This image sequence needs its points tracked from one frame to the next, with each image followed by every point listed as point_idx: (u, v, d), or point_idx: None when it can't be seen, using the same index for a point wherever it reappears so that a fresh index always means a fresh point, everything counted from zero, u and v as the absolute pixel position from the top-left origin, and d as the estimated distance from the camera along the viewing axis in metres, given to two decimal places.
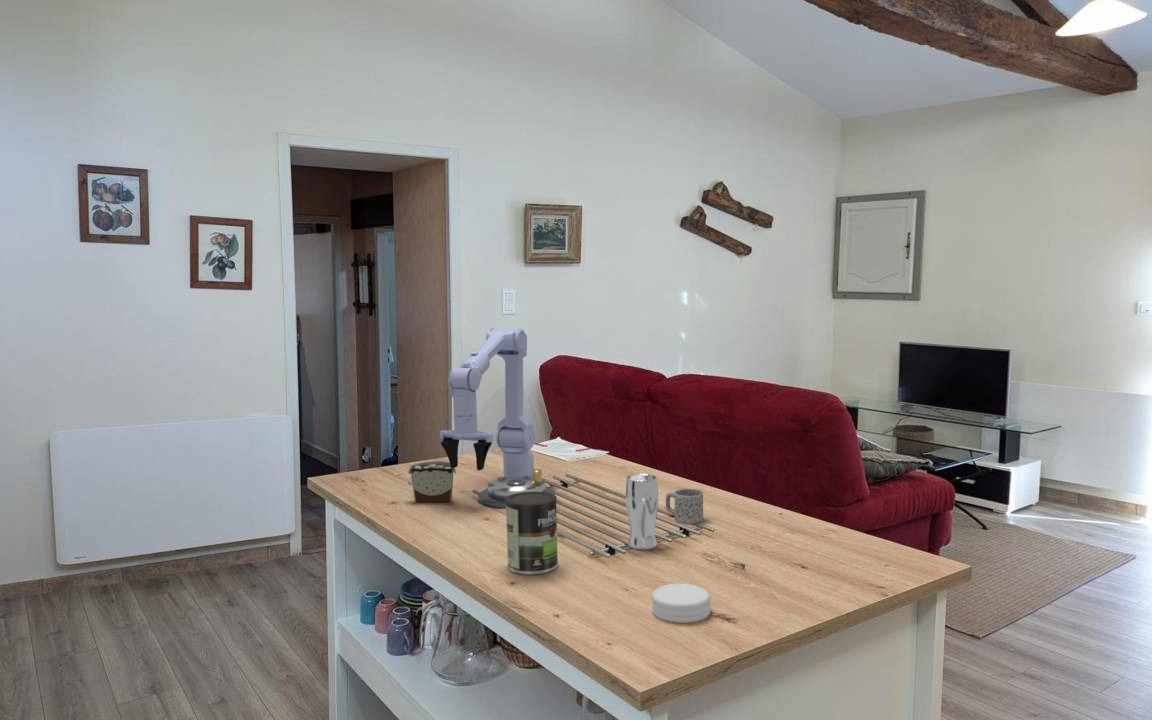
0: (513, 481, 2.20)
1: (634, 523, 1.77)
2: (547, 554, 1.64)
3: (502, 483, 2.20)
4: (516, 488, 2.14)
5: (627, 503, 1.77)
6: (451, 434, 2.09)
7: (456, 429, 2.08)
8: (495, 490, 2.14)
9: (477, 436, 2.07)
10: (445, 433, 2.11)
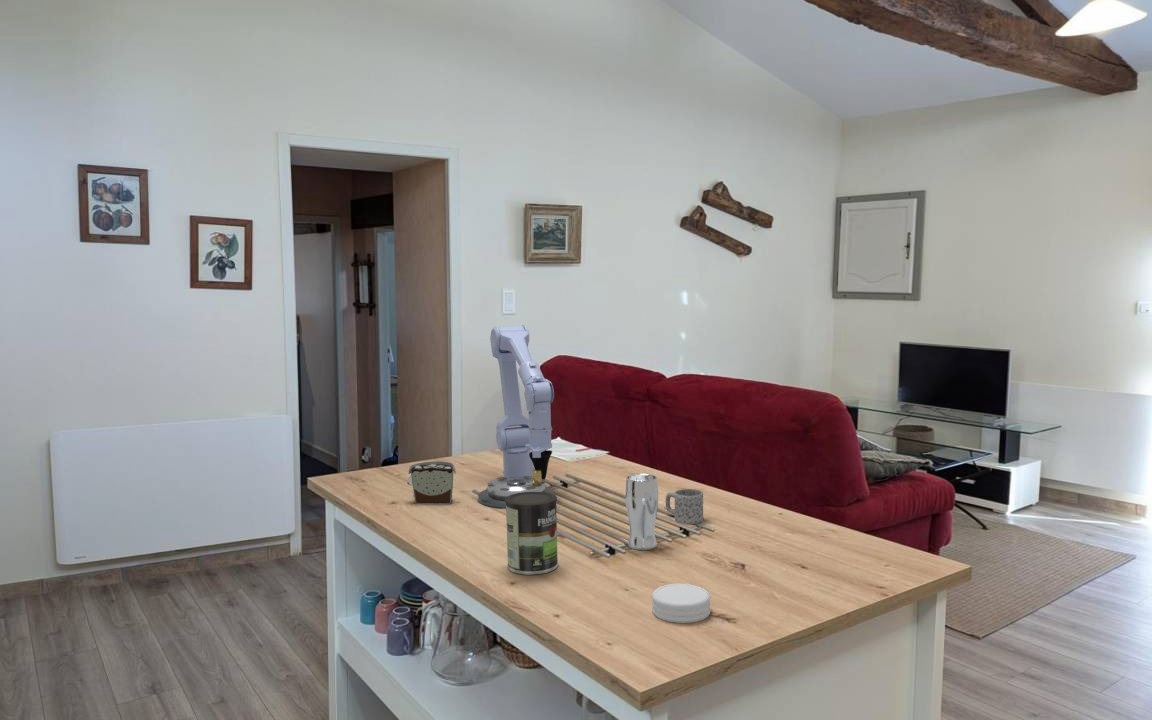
0: (513, 481, 2.20)
1: (634, 523, 1.77)
2: (547, 554, 1.64)
3: (502, 483, 2.20)
4: (516, 488, 2.14)
5: (627, 503, 1.77)
6: None
7: None
8: (495, 490, 2.14)
9: (531, 449, 2.14)
10: None
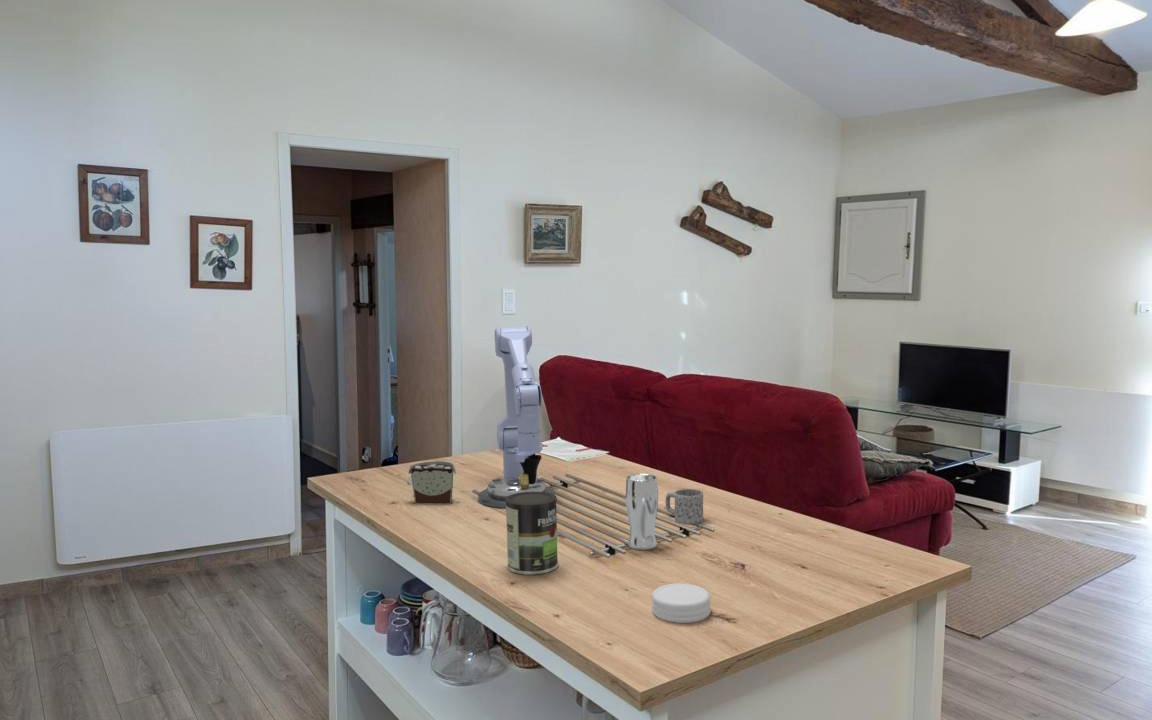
0: (515, 481, 2.20)
1: (634, 523, 1.77)
2: (547, 554, 1.64)
3: (508, 481, 2.22)
4: (502, 487, 2.15)
5: (627, 503, 1.77)
6: None
7: None
8: None
9: (517, 453, 2.11)
10: None
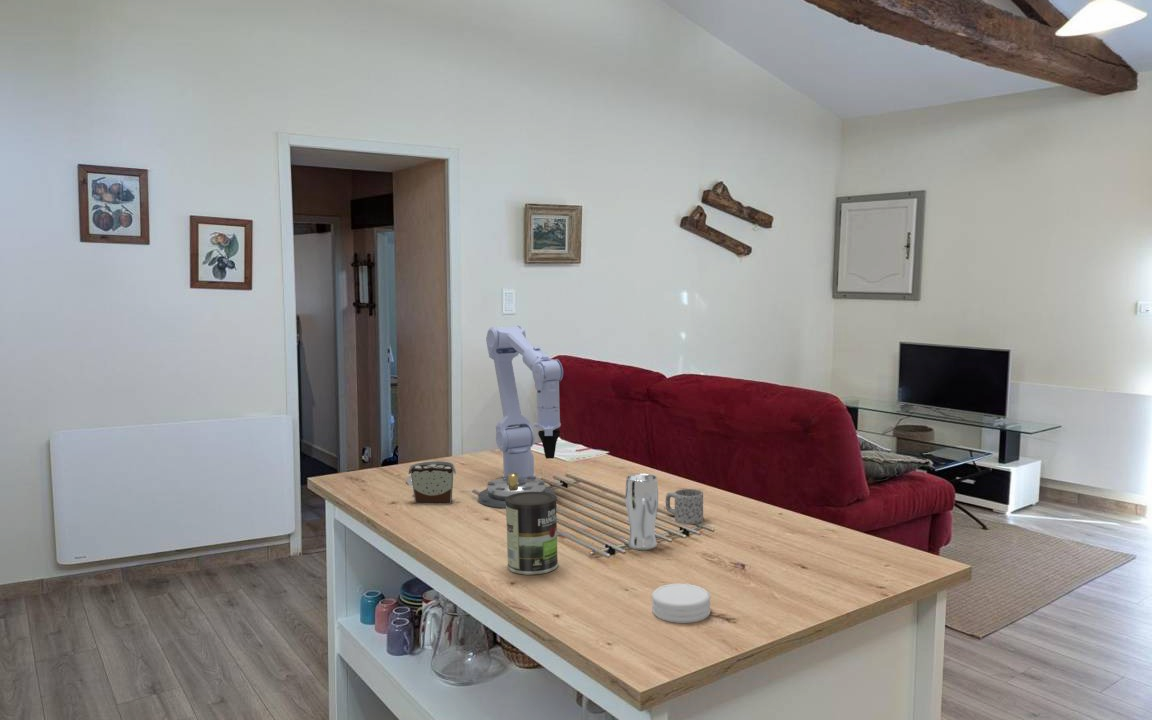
0: None
1: (634, 523, 1.77)
2: (547, 554, 1.64)
3: None
4: (497, 485, 2.17)
5: (627, 503, 1.77)
6: None
7: None
8: None
9: (542, 428, 2.14)
10: None
